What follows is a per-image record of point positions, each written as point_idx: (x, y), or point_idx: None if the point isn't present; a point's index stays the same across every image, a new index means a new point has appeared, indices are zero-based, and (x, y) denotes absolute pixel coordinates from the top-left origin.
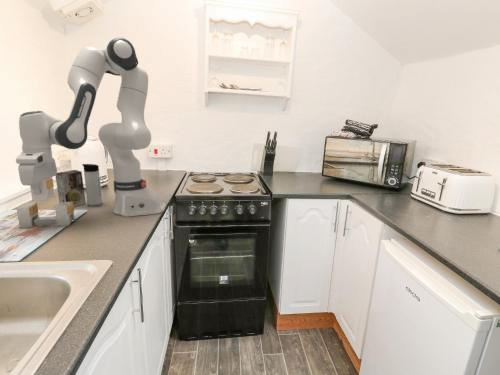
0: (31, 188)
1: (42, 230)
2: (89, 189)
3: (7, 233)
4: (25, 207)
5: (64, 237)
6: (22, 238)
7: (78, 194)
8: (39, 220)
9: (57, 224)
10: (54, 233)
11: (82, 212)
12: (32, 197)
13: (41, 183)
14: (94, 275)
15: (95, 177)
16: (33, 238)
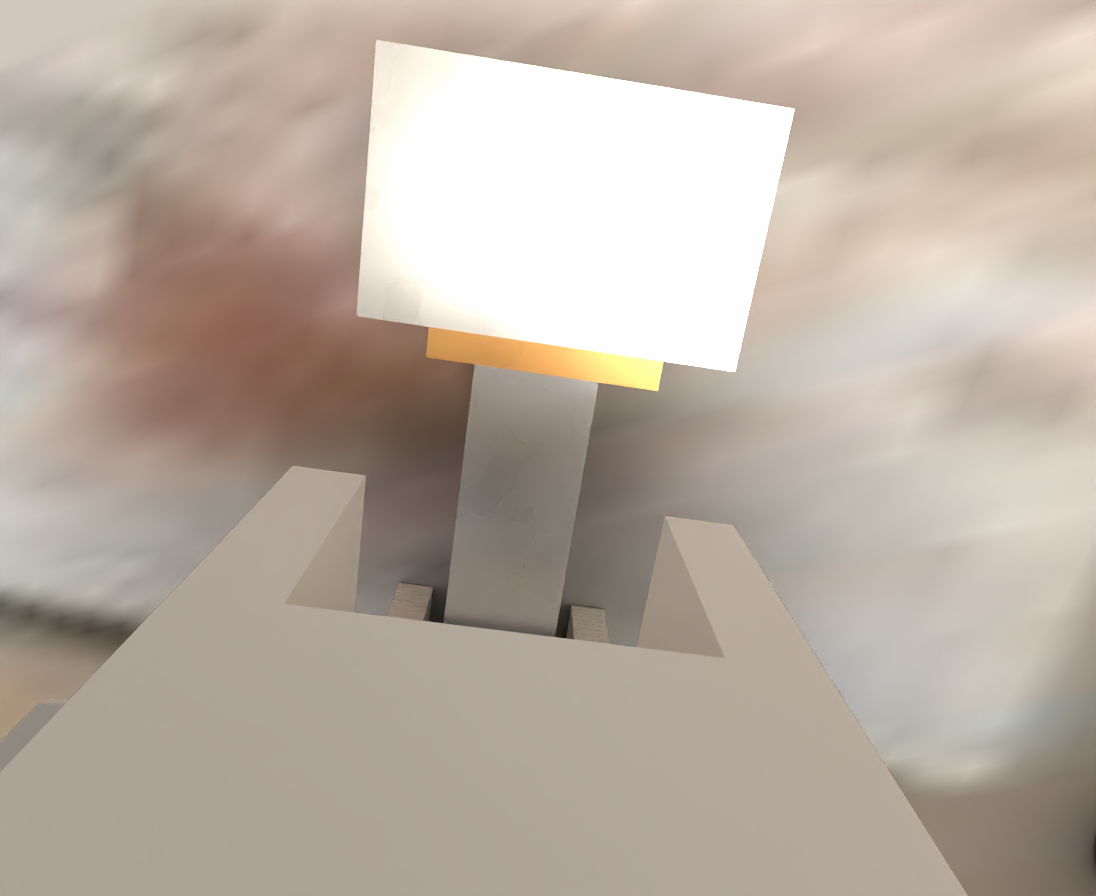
0: (87, 721)
1: (280, 448)
2: None
3: (238, 13)
4: (364, 253)
5: (17, 723)
6: (23, 294)
7: None
8: (472, 386)
9: (395, 595)
10: (152, 603)
11: (892, 745)
12: (248, 524)
13: None
14: None
15: None
16: (12, 424)
